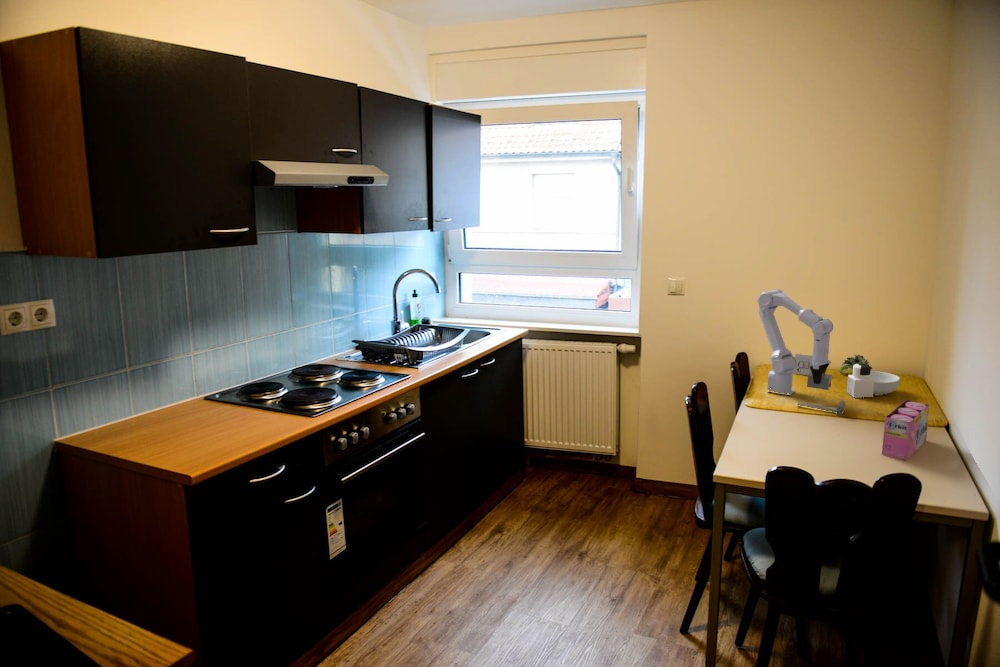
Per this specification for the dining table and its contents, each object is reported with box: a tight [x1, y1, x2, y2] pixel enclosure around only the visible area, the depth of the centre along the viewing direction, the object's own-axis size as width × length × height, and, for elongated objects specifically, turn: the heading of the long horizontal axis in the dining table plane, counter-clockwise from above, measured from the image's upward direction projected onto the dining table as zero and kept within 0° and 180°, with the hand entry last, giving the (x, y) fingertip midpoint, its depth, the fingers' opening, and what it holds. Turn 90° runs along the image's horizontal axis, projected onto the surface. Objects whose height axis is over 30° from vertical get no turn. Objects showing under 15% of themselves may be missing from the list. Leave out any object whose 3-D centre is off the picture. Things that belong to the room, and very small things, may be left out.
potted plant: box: [838, 354, 873, 375], centre depth 323 cm, size 11×11×12 cm
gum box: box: [881, 399, 930, 461], centre depth 243 cm, size 24×8×14 cm, turn 135°
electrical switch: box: [793, 353, 813, 377], centre depth 327 cm, size 9×5×9 cm, turn 53°
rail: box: [797, 400, 846, 417], centre depth 281 cm, size 16×7×4 cm, turn 54°
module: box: [806, 372, 833, 391], centre depth 289 cm, size 8×5×6 cm, turn 55°
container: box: [846, 364, 874, 399], centre depth 295 cm, size 8×8×13 cm
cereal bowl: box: [870, 370, 901, 396], centre depth 299 cm, size 17×17×7 cm
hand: (818, 381), depth 289 cm, fingers closed on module, 5 cm apart
